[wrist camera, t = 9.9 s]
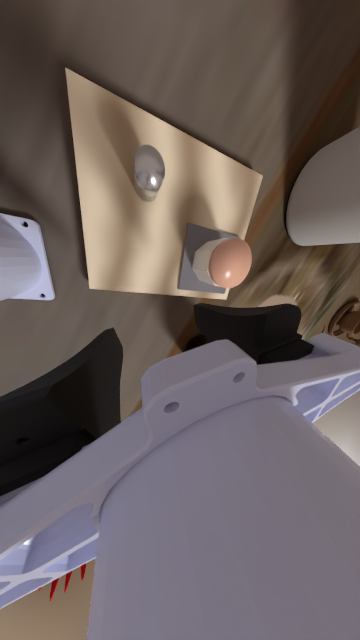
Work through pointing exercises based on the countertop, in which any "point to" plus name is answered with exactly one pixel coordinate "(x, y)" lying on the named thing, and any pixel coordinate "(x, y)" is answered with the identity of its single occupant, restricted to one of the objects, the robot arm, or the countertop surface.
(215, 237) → the pad
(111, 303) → the countertop surface
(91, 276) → the board
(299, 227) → the cylinder vase
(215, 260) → the brown egg in cup
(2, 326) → the countertop surface
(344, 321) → the place setting
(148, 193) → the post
